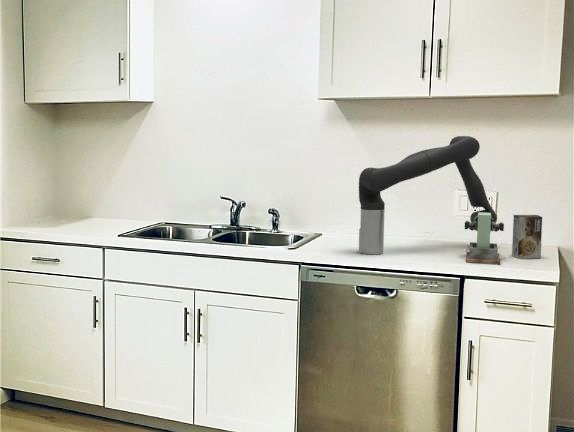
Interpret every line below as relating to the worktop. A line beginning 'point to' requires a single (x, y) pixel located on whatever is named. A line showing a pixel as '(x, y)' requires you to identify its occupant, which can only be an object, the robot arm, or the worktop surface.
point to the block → (483, 230)
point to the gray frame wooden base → (483, 254)
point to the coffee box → (527, 236)
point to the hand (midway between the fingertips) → (484, 228)
